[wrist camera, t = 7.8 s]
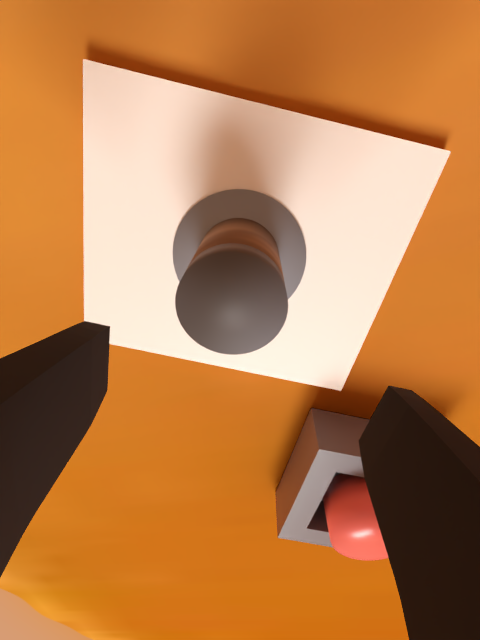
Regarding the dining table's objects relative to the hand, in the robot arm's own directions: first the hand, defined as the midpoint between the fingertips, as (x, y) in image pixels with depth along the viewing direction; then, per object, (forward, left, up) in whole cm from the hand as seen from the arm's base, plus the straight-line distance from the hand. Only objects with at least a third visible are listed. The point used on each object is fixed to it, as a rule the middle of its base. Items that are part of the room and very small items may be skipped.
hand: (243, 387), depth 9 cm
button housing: (-9, +11, -8) cm, 17 cm away
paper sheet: (+1, -1, -8) cm, 8 cm away
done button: (-9, +11, -6) cm, 16 cm away
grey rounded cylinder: (+1, -1, -8) cm, 8 cm away
